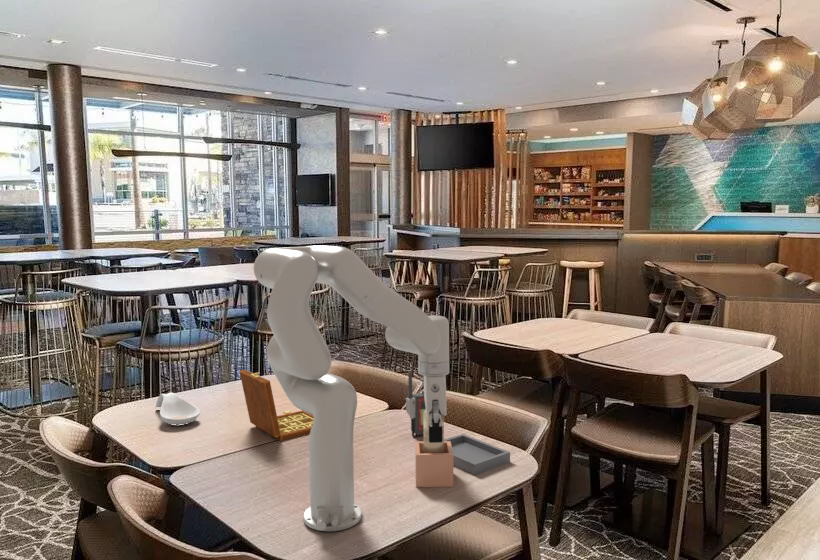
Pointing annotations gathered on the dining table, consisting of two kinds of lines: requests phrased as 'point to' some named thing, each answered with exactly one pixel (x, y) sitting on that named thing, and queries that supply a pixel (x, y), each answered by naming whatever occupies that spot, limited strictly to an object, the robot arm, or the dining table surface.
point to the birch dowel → (427, 445)
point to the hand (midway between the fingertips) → (434, 434)
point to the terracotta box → (433, 466)
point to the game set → (271, 410)
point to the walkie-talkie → (415, 409)
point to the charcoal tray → (476, 454)
